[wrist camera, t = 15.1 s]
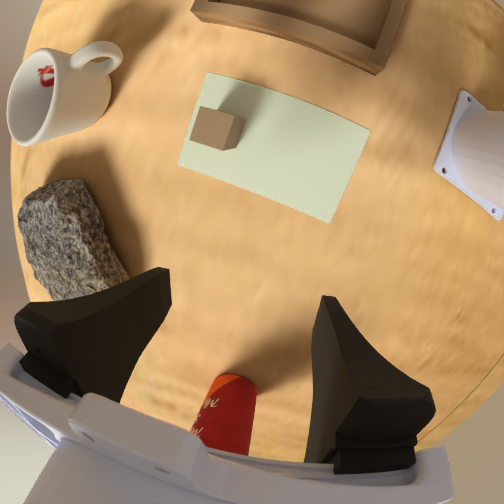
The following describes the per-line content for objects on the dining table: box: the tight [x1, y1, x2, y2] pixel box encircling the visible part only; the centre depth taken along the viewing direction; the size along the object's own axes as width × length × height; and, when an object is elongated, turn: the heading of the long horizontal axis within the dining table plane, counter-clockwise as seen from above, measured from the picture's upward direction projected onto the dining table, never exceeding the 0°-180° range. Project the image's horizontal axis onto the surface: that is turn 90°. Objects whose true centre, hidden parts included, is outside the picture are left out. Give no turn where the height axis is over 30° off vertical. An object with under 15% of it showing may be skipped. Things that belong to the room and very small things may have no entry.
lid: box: [177, 72, 370, 224], centre depth 18 cm, size 13×8×4 cm, turn 70°
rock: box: [18, 179, 129, 301], centre depth 23 cm, size 13×6×15 cm
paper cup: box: [190, 374, 257, 456], centre depth 25 cm, size 8×8×14 cm
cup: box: [7, 41, 123, 146], centre depth 15 cm, size 11×8×8 cm
